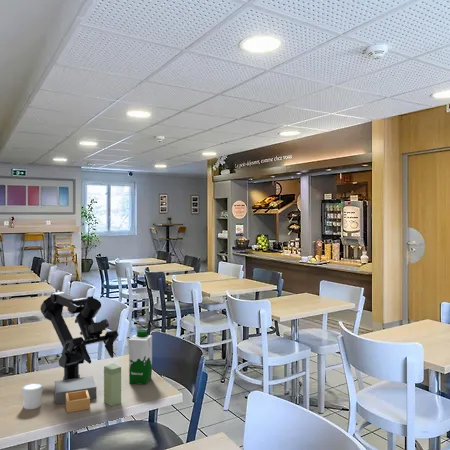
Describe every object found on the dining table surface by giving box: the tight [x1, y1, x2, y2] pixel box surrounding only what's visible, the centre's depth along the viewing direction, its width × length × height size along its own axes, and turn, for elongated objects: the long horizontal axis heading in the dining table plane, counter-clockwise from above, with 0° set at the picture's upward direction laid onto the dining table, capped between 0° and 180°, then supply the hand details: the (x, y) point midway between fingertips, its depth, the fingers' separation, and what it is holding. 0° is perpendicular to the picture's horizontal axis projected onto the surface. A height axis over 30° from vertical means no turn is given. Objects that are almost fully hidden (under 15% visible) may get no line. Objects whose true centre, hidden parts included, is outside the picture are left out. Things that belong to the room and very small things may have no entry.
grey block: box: [54, 375, 97, 413], centre depth 157 cm, size 21×14×4 cm
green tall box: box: [103, 363, 122, 407], centre depth 154 cm, size 5×4×13 cm
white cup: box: [21, 382, 44, 410], centre depth 151 cm, size 7×7×7 cm
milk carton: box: [128, 329, 153, 385], centre depth 175 cm, size 9×9×20 cm
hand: (101, 360), depth 159 cm, fingers open, 9 cm apart
